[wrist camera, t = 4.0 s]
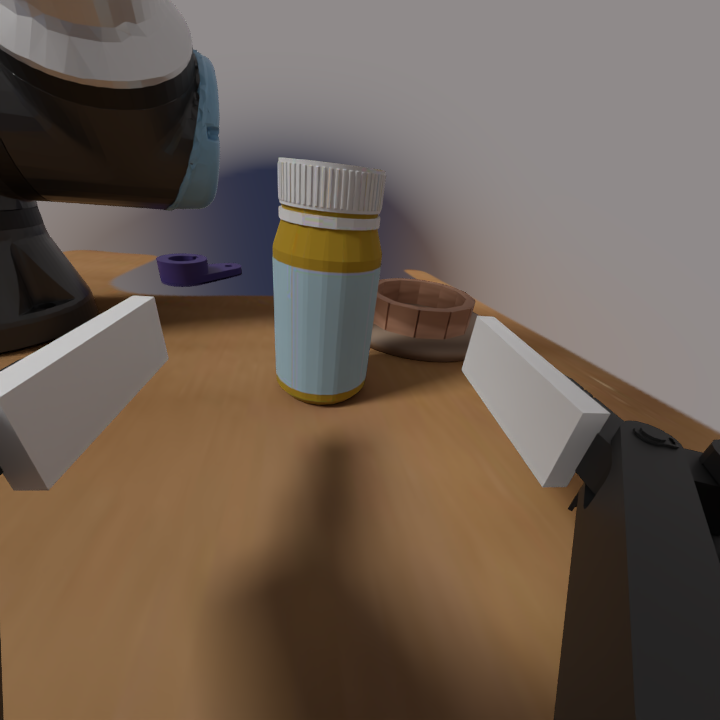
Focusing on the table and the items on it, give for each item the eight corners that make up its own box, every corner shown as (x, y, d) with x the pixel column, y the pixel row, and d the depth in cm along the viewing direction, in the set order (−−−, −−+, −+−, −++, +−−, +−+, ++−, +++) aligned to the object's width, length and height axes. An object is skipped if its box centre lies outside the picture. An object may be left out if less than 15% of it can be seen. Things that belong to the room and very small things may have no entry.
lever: (174, 289, 42) (169, 265, 41) (153, 278, 46) (148, 256, 44) (251, 276, 51) (249, 256, 50) (229, 268, 54) (226, 249, 53)
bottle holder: (313, 309, 40) (313, 277, 38) (416, 295, 49) (421, 269, 47) (410, 379, 27) (418, 337, 25) (523, 341, 37) (535, 309, 35)
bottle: (339, 421, 22) (363, 165, 14) (257, 388, 24) (241, 152, 16) (377, 375, 27) (408, 175, 20) (308, 352, 29) (313, 164, 22)
